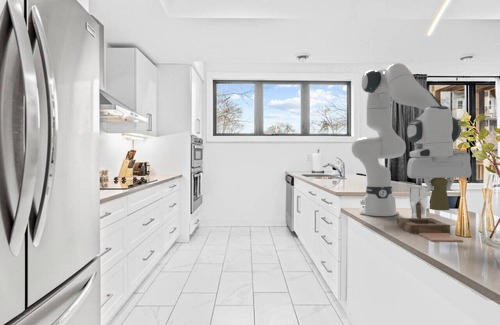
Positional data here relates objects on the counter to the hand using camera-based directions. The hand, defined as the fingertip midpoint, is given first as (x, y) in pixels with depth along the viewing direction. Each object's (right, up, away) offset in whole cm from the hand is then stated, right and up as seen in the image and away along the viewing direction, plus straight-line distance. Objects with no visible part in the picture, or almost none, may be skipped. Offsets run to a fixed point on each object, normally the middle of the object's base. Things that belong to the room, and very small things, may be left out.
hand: (439, 190), depth 111 cm
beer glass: (+8, -16, +29) cm, 34 cm away
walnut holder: (+2, -16, +14) cm, 22 cm away
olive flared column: (0, -7, 0) cm, 7 cm away
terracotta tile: (0, -17, 0) cm, 17 cm away
